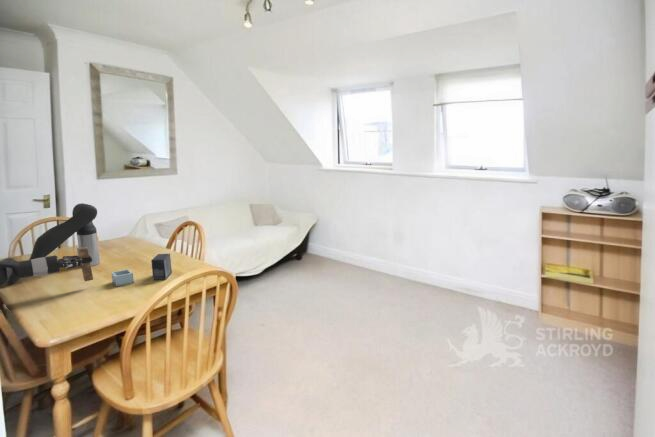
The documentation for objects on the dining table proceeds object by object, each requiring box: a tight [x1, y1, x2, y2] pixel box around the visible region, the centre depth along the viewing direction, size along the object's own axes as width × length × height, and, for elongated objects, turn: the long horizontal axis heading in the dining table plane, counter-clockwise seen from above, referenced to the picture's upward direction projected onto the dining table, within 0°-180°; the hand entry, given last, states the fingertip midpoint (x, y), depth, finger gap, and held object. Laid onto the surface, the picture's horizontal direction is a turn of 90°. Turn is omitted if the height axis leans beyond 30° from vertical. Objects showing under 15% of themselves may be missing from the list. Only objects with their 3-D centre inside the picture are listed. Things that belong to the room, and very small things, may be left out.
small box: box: [150, 253, 173, 281], centre depth 199 cm, size 11×6×10 cm, turn 5°
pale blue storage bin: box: [111, 268, 135, 288], centre depth 191 cm, size 8×8×5 cm
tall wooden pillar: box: [77, 247, 94, 282], centre depth 182 cm, size 3×3×15 cm
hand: (90, 258), depth 183 cm, fingers closed on tall wooden pillar, 3 cm apart
